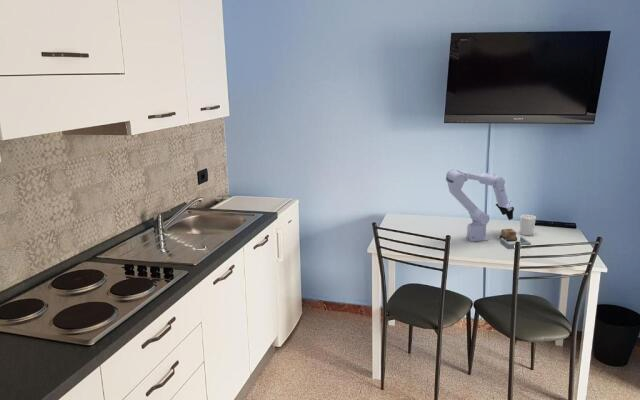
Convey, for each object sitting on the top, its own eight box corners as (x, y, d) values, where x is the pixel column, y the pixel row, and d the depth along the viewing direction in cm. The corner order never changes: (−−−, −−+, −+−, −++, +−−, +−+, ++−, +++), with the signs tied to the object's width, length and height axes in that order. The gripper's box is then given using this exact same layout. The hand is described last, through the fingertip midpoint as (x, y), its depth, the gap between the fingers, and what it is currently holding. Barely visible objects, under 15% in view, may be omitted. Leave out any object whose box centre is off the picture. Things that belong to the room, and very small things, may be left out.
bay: (508, 248, 256) (508, 244, 255) (500, 242, 265) (500, 238, 264) (530, 247, 257) (530, 243, 256) (521, 241, 266) (522, 236, 265)
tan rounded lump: (503, 241, 266) (504, 232, 264) (499, 238, 271) (500, 229, 269) (516, 240, 266) (517, 231, 265) (512, 237, 271) (513, 228, 270)
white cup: (525, 236, 272) (526, 219, 269) (515, 232, 279) (517, 215, 276) (537, 235, 274) (538, 218, 271) (527, 230, 281) (529, 213, 278)
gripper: (514, 197, 261) (520, 218, 266) (502, 188, 274) (508, 209, 279) (502, 202, 261) (508, 223, 266) (490, 193, 275) (496, 214, 279)
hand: (507, 216), depth 273 cm, fingers open, 7 cm apart
